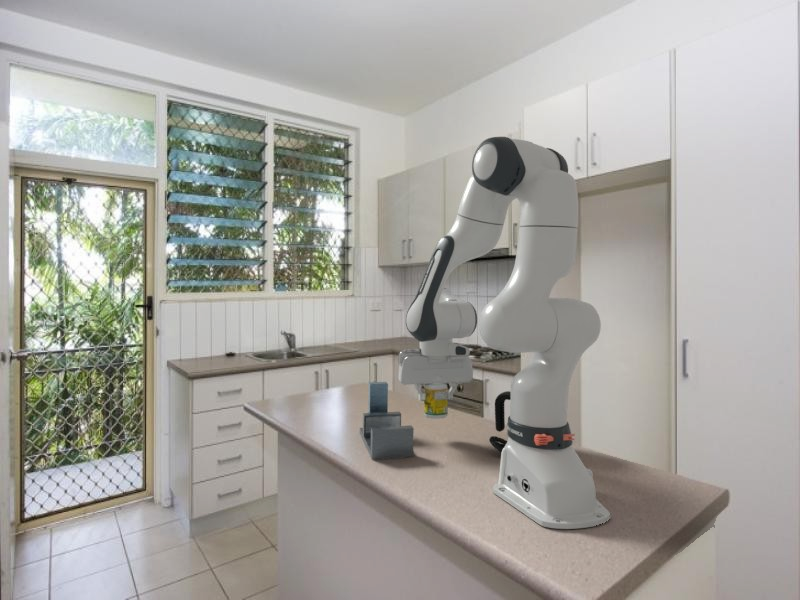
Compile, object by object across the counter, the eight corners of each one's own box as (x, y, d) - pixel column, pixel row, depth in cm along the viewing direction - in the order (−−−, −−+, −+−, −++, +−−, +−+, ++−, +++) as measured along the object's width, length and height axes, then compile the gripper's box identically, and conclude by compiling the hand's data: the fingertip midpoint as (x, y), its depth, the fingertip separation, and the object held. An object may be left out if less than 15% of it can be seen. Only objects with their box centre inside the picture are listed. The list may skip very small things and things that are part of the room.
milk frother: (547, 442, 120) (548, 387, 119) (549, 464, 105) (551, 401, 104) (492, 437, 124) (493, 383, 123) (487, 457, 108) (488, 396, 108)
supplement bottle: (451, 418, 119) (451, 375, 119) (428, 419, 117) (428, 376, 117) (442, 412, 125) (442, 371, 125) (420, 414, 123) (420, 372, 123)
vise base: (413, 456, 108) (413, 428, 108) (372, 459, 106) (372, 430, 105) (394, 431, 127) (394, 406, 127) (359, 433, 125) (359, 408, 125)
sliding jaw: (401, 434, 120) (402, 388, 119) (364, 436, 117) (364, 389, 117) (394, 424, 128) (394, 381, 128) (359, 426, 126) (359, 382, 125)
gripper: (401, 350, 115) (401, 404, 115) (475, 348, 120) (475, 400, 120) (395, 348, 122) (395, 399, 121) (466, 346, 126) (466, 395, 126)
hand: (435, 399), depth 121 cm, fingers closed on supplement bottle, 6 cm apart
